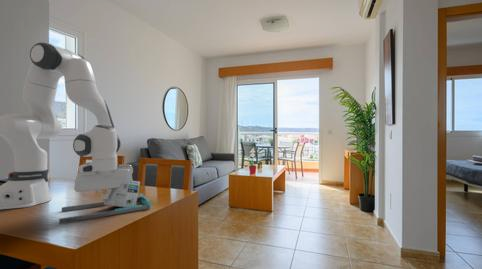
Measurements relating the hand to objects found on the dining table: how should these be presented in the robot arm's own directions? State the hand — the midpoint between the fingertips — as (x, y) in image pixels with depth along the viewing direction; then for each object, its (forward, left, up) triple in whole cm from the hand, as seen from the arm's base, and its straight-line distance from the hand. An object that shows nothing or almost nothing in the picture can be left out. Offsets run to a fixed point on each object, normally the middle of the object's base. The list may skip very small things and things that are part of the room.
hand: (104, 200), depth 96 cm
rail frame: (+2, 0, -4) cm, 5 cm away
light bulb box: (+5, 0, -4) cm, 6 cm away
